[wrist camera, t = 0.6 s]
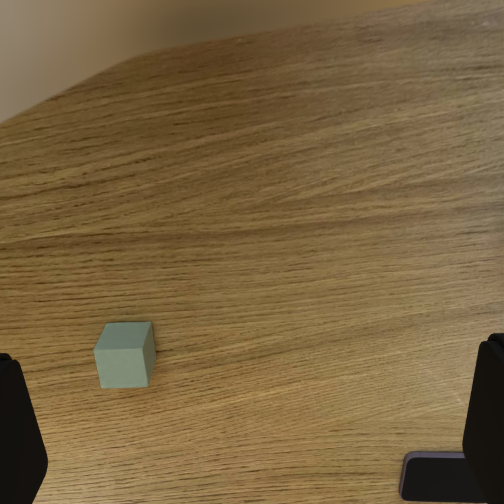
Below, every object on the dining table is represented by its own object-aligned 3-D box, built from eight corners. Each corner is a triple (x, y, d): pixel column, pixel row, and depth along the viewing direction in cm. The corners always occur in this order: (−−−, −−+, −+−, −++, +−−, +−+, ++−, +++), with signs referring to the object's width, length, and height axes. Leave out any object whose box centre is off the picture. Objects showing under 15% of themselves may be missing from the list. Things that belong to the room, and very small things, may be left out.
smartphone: (407, 455, 53) (544, 459, 53) (404, 448, 54) (539, 451, 54) (399, 501, 56) (528, 504, 56) (396, 493, 57) (523, 496, 57)
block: (106, 322, 47) (92, 350, 43) (151, 321, 47) (142, 348, 43) (113, 359, 49) (101, 389, 45) (156, 358, 49) (148, 387, 45)
